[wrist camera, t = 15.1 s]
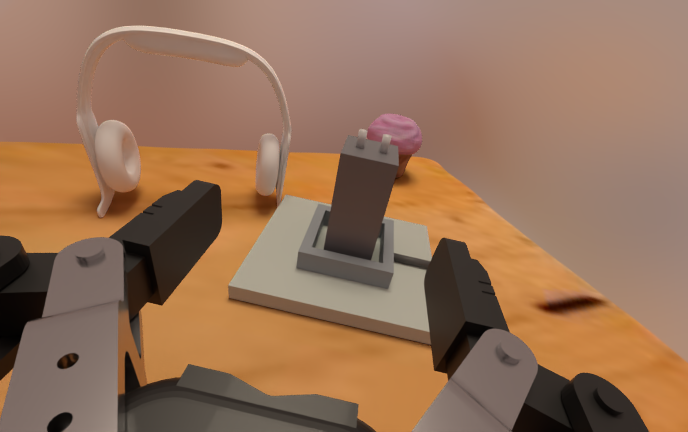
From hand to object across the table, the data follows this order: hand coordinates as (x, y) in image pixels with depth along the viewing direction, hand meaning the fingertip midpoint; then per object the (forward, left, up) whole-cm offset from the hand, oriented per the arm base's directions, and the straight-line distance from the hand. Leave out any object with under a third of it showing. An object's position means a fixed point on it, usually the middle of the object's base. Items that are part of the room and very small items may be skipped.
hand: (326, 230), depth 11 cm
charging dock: (-3, +16, -15) cm, 22 cm away
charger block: (-3, +16, -13) cm, 21 cm away
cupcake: (-6, +41, -15) cm, 44 cm away
